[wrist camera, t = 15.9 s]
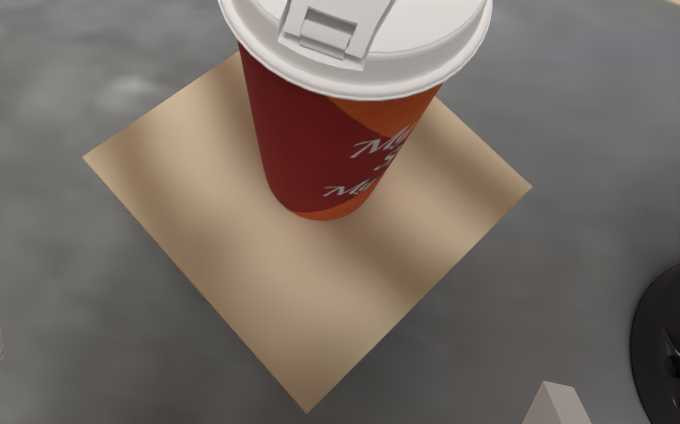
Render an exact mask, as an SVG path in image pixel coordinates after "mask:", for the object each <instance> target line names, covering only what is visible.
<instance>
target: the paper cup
mask: <svg viewBox="0 0 680 424" xmlns="http://www.w3.org/2000/svg"><path fill="white" fill-rule="evenodd" d="M218 4H219V6H220V9H221V11H222V14H223V16H224V18H225V21H226V23H227V24H228V26H229V28H230V29H231V31H232V32H233V34H234V36H235V37H236V39H237V41H238V46H239V51H240V56H241V61H242V66H243V71H244V76H245V81H246V86H247V91H248V96H249V101H250V106H251V111H252V116H253V121H254V126H255V131H256V136H257V141H258V146H259V150H260V155H261V160H262V164H263V168H264V172H265V176H266V179H267V182H268V185H269V187H270V189H271V191H272V193H273V194H274V196H275V197H276V199H277V200H278V201H279V202H280V203H281V204H282V205H283V206H284V207H285V208H286V209H288V210H289V211H291V212H293V213H294V214H296V215H298V216H301V217H304V218H307V219H311V220H320V221H325V220H333V219H338V218H341V217H343V216H346V215H348V214H350V213H351V212H353V211H354V210H356V209H357V208H358V207H360V206H361V205H362V204H363V203H364V202H365V200H366V199H367V198H368V197H369V195H370V194H371V193H372V191H373V190H374V188H375V187H376V186H377V184H378V183H379V181H380V180H381V178H382V177H383V175H384V174H385V172H386V171H387V169H388V168H389V166H390V165H391V163H392V162H393V160H394V158H395V157H396V155H397V154H398V152H399V151H400V149H401V148H402V146H403V145H404V143H405V141H406V140H407V138H408V137H409V135H410V134H411V132H412V131H413V129H414V127H415V126H416V124H417V123H418V121H419V120H420V118H421V116H422V115H423V113H424V112H425V110H426V109H427V107H428V106H429V104H430V102H431V101H432V99H433V98H434V96H435V95H436V93H437V92H438V90H439V88H440V87H441V85H442V84H443V82H445V81H446V80H447V79H449V78H450V77H452V76H453V75H454V74H456V73H457V72H458V71H460V70H461V69H462V68H463V67H464V66H465V65H466V63H467V62H468V61H469V60H470V59H471V58H472V57H473V56H474V54H475V53H476V51H477V50H478V48H479V46H480V45H481V43H482V42H483V40H484V37H485V35H486V32H487V29H488V27H489V24H490V19H491V13H492V0H218Z"/></svg>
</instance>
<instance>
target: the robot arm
mask: <svg viewBox="0 0 680 424" xmlns="http://www.w3.org/2000/svg"><path fill="white" fill-rule="evenodd" d="M631 355H632V365H633V371H634V376H635V380H636V384H637V388H638V391H639V394H640V397H641V400H642V402H643V405H644V407H645V409H646V411H647V413H648V415H649V417H650V419H651V421H652V423H653V424H680V264H678V265H676V266H674V267H672V268H671V269H669V270H667V271H666V272H665V273H663V274H662V275H661V276H660V277H659V278H658V279H656V280H655V282H654V283H653V284H652V285H651V286H650V287H649V289H648V290H647V292H646V293H645V295H644V297H643V298H642V300H641V303H640V305H639V307H638V310H637V312H636V316H635V319H634V324H633V330H632V340H631ZM2 360H3V349H2V335H1V321H0V363H1V362H2ZM522 424H592V423H591V421H590V419H589V417H588V415H587V413H586V411H585V409H584V407H583V405H582V403H581V401H580V399H579V397H578V395H577V393H576V391H575V389H574V387H571V386H566V385H561V384H556V383H551V382H546V381H543V382H542V384H541V386H540V388H539V390H538V392H537V394H536V396H535V398H534V400H533V402H532V404H531V406H530V408H529V410H528V412H527V414H526V416H525V418H524V420H523V422H522Z"/></svg>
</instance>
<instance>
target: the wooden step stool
mask: <svg viewBox="0 0 680 424" xmlns="http://www.w3.org/2000/svg"><path fill="white" fill-rule="evenodd" d="M82 158H83V159H84V160H85V161H86V163H87V164H88V165H89V166H90V167H91V169H92V170H93V171H94V172H95V174H96V175H97V176H98V177H99V178H100V179H101V181H102V182H103V183H104V184H105V185H106V186H107V187H108V189H109V190H110V191H111V192H112V193H113V194H114V195H115V197H116V198H117V199H118V200H119V201H120V202H121V203H122V205H123V206H124V207H125V208H126V209H127V210H128V211H129V213H130V214H131V215H132V216H133V217H134V218H135V219H136V221H137V222H138V223H139V224H140V225H141V226H142V227H143V229H144V230H145V231H146V232H147V233H148V234H149V236H150V237H151V238H152V239H153V240H154V241H155V242H156V244H157V245H158V246H159V247H160V248H161V249H162V250H163V252H164V253H165V254H166V255H167V256H168V257H169V258H170V260H171V261H172V262H173V263H174V264H175V265H176V266H177V268H178V269H179V270H180V271H181V272H182V273H183V274H184V276H185V277H186V278H187V279H188V280H189V281H190V282H191V284H192V285H193V286H194V287H195V288H196V289H197V290H198V292H199V293H200V294H201V295H202V296H203V297H204V298H205V300H206V301H207V302H208V303H209V304H210V305H211V306H212V308H213V309H214V310H215V311H216V312H217V313H218V314H219V316H220V317H221V318H222V319H223V320H224V321H225V322H226V324H227V325H228V326H229V327H230V328H231V329H232V330H233V332H234V333H235V334H236V335H237V336H238V337H239V338H240V340H241V341H242V342H243V343H244V344H245V345H246V346H247V348H248V349H249V350H250V351H251V352H252V353H253V354H254V356H255V357H256V358H257V359H258V360H259V361H260V362H261V364H262V365H263V366H264V367H265V368H266V369H267V370H268V372H269V373H270V374H271V375H272V376H273V377H274V378H275V380H276V381H277V382H278V383H279V384H280V385H281V386H282V388H283V389H284V390H285V391H286V392H287V393H288V394H289V396H290V397H291V398H292V399H293V400H294V401H295V402H296V404H297V405H298V406H299V407H300V408H301V409H302V410H303V412H304V413H306V414H308V413H309V412H310V411H311V410H312V409H313V408H314V407H315V406H316V405H317V404H318V403H319V402H320V401H321V400H322V399H323V398H324V397H325V396H326V395H327V394H328V393H329V392H330V391H331V390H332V389H333V388H334V387H335V386H336V385H337V384H338V383H339V382H340V381H341V379H342V378H343V377H344V376H345V375H346V374H347V373H348V372H349V371H350V370H351V369H352V368H353V367H354V366H355V365H356V364H357V363H358V362H359V361H360V360H361V359H362V358H363V357H364V356H365V355H366V354H367V353H368V352H369V351H370V350H371V349H372V348H373V347H374V346H375V345H376V344H377V343H378V342H379V341H380V340H381V339H382V338H383V337H384V336H385V335H386V334H387V333H388V332H389V331H390V330H391V329H392V328H393V327H394V326H395V325H396V324H397V323H398V322H399V321H400V320H401V319H402V318H403V317H404V316H405V315H406V314H407V313H408V312H409V311H410V310H411V309H412V308H413V307H414V306H415V305H416V304H417V303H418V302H419V301H420V300H421V299H422V298H423V297H424V296H425V295H426V294H427V293H428V292H429V291H430V290H431V289H432V288H433V287H434V286H435V285H436V284H437V283H438V282H439V281H440V280H441V279H442V278H443V277H444V276H445V275H446V274H447V273H448V272H449V271H450V269H451V268H452V267H453V266H454V265H455V264H456V263H457V262H458V261H459V260H460V259H461V258H462V257H463V256H464V255H465V254H466V253H467V252H468V251H469V250H470V249H471V248H472V247H473V246H474V245H475V244H476V243H477V242H478V241H479V240H480V239H481V238H482V237H483V236H484V235H485V234H486V233H487V232H488V231H489V230H490V229H491V228H492V227H493V226H494V225H495V224H496V223H497V222H498V221H499V220H500V219H501V218H502V217H503V216H504V215H505V214H506V213H507V212H508V211H509V210H510V209H511V208H512V207H513V206H514V205H515V204H516V203H517V202H518V201H519V200H520V199H521V198H522V197H523V196H524V195H525V194H526V193H527V192H528V191H529V190H530V189H531V188H532V186H531V185H530V184H529V183H528V182H527V181H526V180H525V179H524V178H522V177H521V176H520V175H519V174H518V173H517V172H516V171H515V170H514V169H513V168H512V167H511V166H510V165H508V164H507V163H506V162H505V161H504V160H503V159H502V158H501V157H500V156H499V155H498V154H497V153H496V152H495V151H493V150H492V149H491V148H490V147H489V146H488V145H487V144H486V143H485V142H484V141H483V140H482V139H481V138H479V137H478V136H477V135H476V134H475V133H474V132H473V131H472V130H471V129H470V128H469V127H468V126H467V125H466V124H464V123H463V122H462V121H461V120H460V119H459V118H458V117H457V116H456V115H455V114H454V113H453V112H452V111H451V110H449V109H448V108H447V107H446V106H445V105H444V104H443V103H442V102H441V101H440V100H439V99H438V98H437V97H435V96H434V98H433V99H432V101H431V102H430V104H429V106H428V107H427V109H426V110H425V112H424V113H423V115H422V116H421V118H420V120H419V121H418V123H417V124H416V126H415V127H414V129H413V131H412V132H411V134H410V135H409V137H408V138H407V140H406V141H405V143H404V145H403V146H402V148H401V149H400V151H399V152H398V154H397V155H396V157H395V158H394V160H393V162H392V163H391V165H390V166H389V168H388V169H387V171H386V172H385V174H384V175H383V177H382V178H381V180H380V181H379V183H378V184H377V186H376V187H375V188H374V190H373V191H372V193H371V194H370V195H369V197H368V198H367V199H366V200H365V202H364V203H363V204H362V205H361V206H360V207H358V208H357V209H356V210H354V211H353V212H351V213H350V214H348V215H346V216H343V217H341V218H338V219H333V220H325V221H320V220H311V219H307V218H304V217H301V216H298V215H296V214H294V213H293V212H291V211H289V210H288V209H286V208H285V207H284V206H283V205H282V204H281V203H280V202H279V201H278V200H277V199H276V197H275V196H274V194H273V193H272V191H271V189H270V187H269V185H268V182H267V179H266V176H265V172H264V168H263V164H262V160H261V155H260V150H259V146H258V141H257V136H256V131H255V126H254V121H253V116H252V111H251V106H250V101H249V96H248V91H247V86H246V81H245V76H244V71H243V66H242V61H241V56H240V51H238V52H236V53H235V54H233V55H232V56H230V57H229V58H227V59H226V60H224V61H223V62H221V63H220V64H218V65H217V66H215V67H214V68H213V69H211V70H210V71H208V72H207V73H205V74H204V75H202V76H201V77H199V78H198V79H196V80H195V81H193V82H192V83H190V84H189V85H187V86H186V87H185V88H183V89H182V90H180V91H179V92H177V93H176V94H174V95H173V96H171V97H170V98H168V99H167V100H165V101H164V102H162V103H161V104H159V105H158V106H157V107H155V108H154V109H152V110H151V111H149V112H148V113H146V114H145V115H143V116H142V117H140V118H139V119H137V120H136V121H134V122H133V123H131V124H130V125H129V126H127V127H126V128H124V129H123V130H121V131H120V132H118V133H117V134H115V135H114V136H112V137H111V138H109V139H108V140H106V141H105V142H103V143H102V144H101V145H99V146H98V147H96V148H95V149H93V150H92V151H90V152H89V153H87V154H86V155H84V156H83V157H82Z"/></svg>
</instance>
